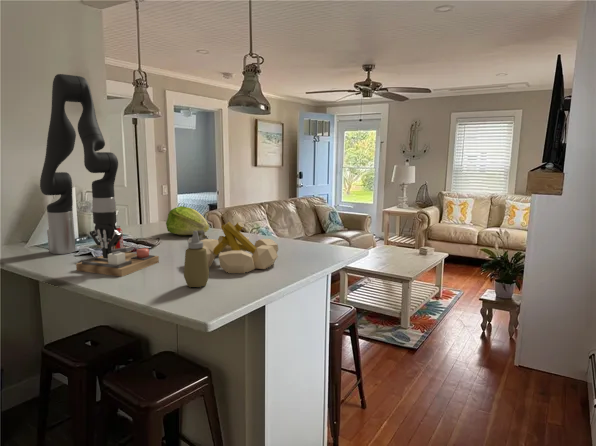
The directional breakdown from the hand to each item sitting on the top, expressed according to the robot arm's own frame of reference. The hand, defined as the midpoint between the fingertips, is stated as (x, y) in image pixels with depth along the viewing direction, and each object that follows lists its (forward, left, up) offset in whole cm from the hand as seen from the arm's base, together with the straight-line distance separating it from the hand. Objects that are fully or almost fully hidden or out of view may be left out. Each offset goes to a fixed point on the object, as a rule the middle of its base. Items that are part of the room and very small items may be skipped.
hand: (107, 257), depth 151 cm
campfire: (+37, +28, -5) cm, 46 cm away
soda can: (-13, +18, -5) cm, 23 cm away
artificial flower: (+14, +50, -5) cm, 52 cm away
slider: (+4, 0, -2) cm, 5 cm away
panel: (0, +6, -5) cm, 8 cm away
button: (+6, +12, -2) cm, 13 cm away
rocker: (-4, +11, 0) cm, 12 cm away
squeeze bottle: (+39, -3, -5) cm, 39 cm away
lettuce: (-9, +66, -5) cm, 67 cm away
